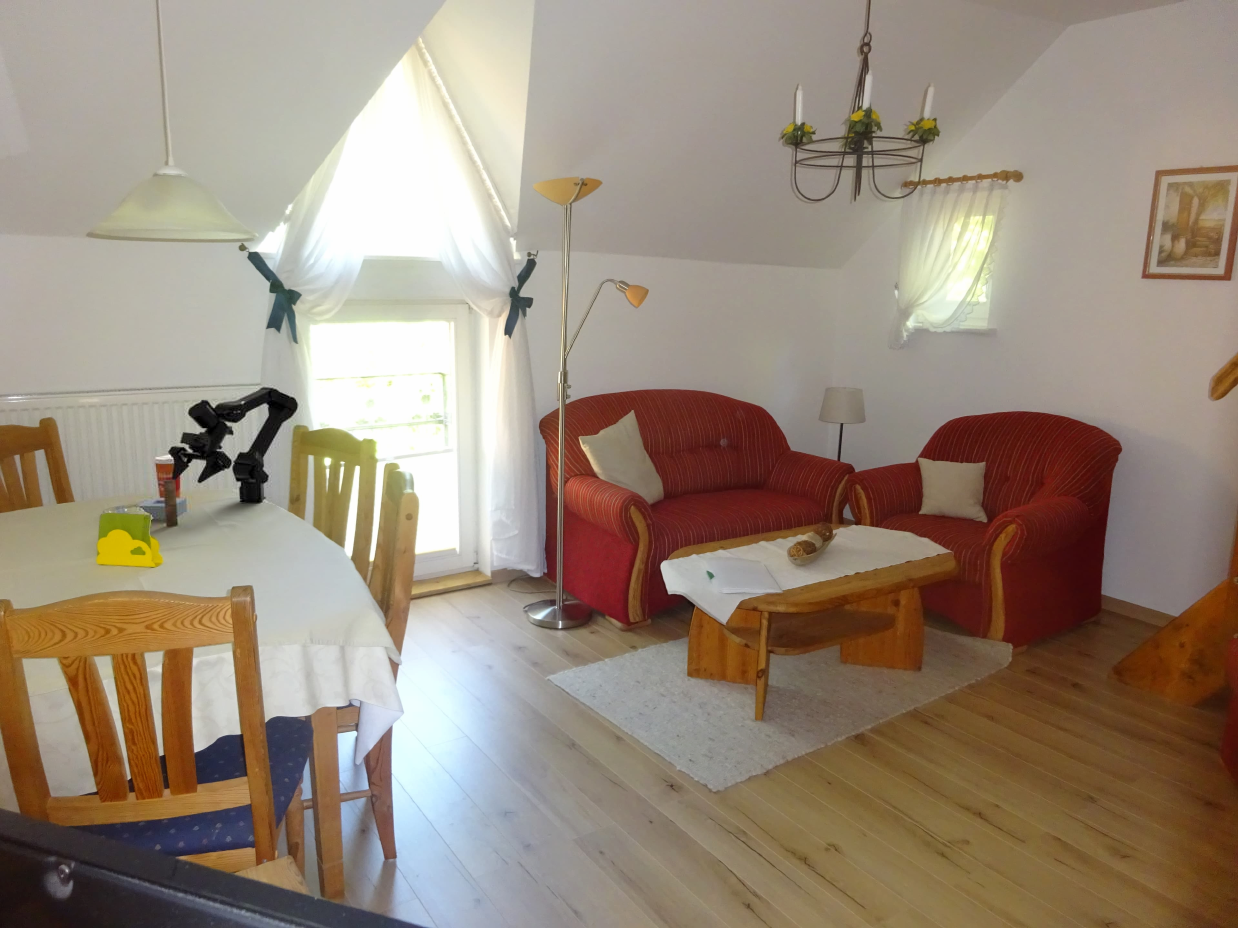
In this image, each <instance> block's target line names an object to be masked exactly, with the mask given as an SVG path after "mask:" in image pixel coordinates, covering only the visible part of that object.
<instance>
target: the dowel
mask: <svg viewBox="0 0 1238 928" xmlns="http://www.w3.org/2000/svg"><path fill="white" fill-rule="evenodd" d="M163 486H164V501H165V516H166V519H165V526H166V527H169V528H170V527H176V526H178V525H179V522H178V521H179V520H178V517H177V502H176V486H175V480H164V481H163Z"/></svg>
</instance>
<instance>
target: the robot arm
mask: <svg viewBox="0 0 1238 928" xmlns="http://www.w3.org/2000/svg"><path fill="white" fill-rule="evenodd" d="M262 405H266V406H267V411H268V412H267V413H268V416H267V418H266V420H265V421H264V423H263V425H262V427H261V428H260V430H259V431H258V433H257V435H256V437H255V438H254V440H253V442H252V444H251V445H250V447H249V448H248V450H247V451H246V452H245V451H244V452H243V451H239V452H238V453H237V456H236V458H235V459H234V460H232V458H230V456H229V455H228V454H227V453H225V452H224V451H223V450H222V449H223V446H222V445H221V444H223V441H224V439H226V436H234V430H233V426H231V425H228V424H227V423H231V424H237V423H239V422H241V420H243V419H244V418H245V417H246V415H247V414H248V413H249V412H251V411H253V410H255V409H257V408H259V407H260V406H262ZM298 407H299V403H298V401H297V399H296V398H295V397H294V396H290V395H288V394H286V393H285V392H282V391H279V389H277V388H275V387H269V386H263V387H260V388H259V389H258V390H256V391H254V392H251V393H250V394H247V395H245V396H243V397H241V398H239V399H236V400H230V401H229V400H228V401H223V402H219V403H217V404H216V405H215V406H214V407H213V406H212V404H211V402H210V401H208V399H201V400H200V401H199V402H197V403H195V404H194V405H192V406H191V407H189V409H188V412H187V413H188V414H187V415H188V416H189V417H190V418H191V419H192V420H193V421H194V422H195V424H196V425H198V427H200V428H201V429H204V431H200V432H199V433H194V432H185V431H184V432H182V434H181V437H180V442H179V443H180V444H184V445H186V446H188V449H189V450H190V451H189V450H188V449H186V448H185V447H184V446H178V445H173V446H171V447H170V449H168V451H167V453H168V454H169V455H171V457H172V458H173V459H174V468H173V473H172V479H173V480H176V479H177V478H178V477H179V476H180V477H181V475H182V474H183V473H184V472H186V470H187V469H188V468H189V467H190V465H189V464H191V463H192V462H193V461H194V460H196V461H204V462H205V466H204V467H203V469H202V471H201V472H200V475H199V476H198V479H197V483H198V484H202V483H204V482H205V481H207V480H209V479H210V478H211V477H213V476H215V475H217V474H219V473H220V472H224V471H225V470H230V468H232V469H231V470H232V473H233V475H234V480H235V482H237V483H240V485H239V487H238V493H239V503H249V504H250V503H256V504H257V503H262V502H263V501H264V500H266V499H267V497H266V496H265V484H266V483H268V481H269V476H270V475H269V474H268V473H267V472H266V471H265V470H264V468H265V461H264V458H265V455H266V454H267V452H268V450H269V449H270V447H271V445H272V443H273V441H274V439H275V438H276V436H277V435H278V433H279V430H280V429H281V427H282V426H283V424H284V423H285V422H286V421H288V420H289V419H291V418H293V416H294V415H295V413H296V412H297V410H298ZM232 464H233V465H232ZM231 466H232V467H231ZM261 501H262V502H261Z"/></svg>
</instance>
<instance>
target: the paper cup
mask: <svg viewBox="0 0 1238 928" xmlns="http://www.w3.org/2000/svg"><path fill="white" fill-rule="evenodd" d="M153 463H154V465H155V473H156V479H157V481H156V482H157V488H158V494H159V498H164V486H163V481H164V480H173V479H172V473H173V468H174V459H173V458H172V457H171V455H170V454H169V455H161V456H156V457H155V458H154V461H153ZM175 486H176V498H181V475H180V476H179V477H178V478H177V479H176V480H175Z"/></svg>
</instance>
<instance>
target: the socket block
mask: <svg viewBox="0 0 1238 928" xmlns="http://www.w3.org/2000/svg"><path fill="white" fill-rule="evenodd" d="M176 502H177V518H178V517H180V516H182V515H183V514H184V513H187V511H188V506H187V505H188V504H187V498H186V497H185V498H184V497H180V498H176ZM137 507H140V508H142V509H143V510H144V511H145V512H147V513H149V514H150V515H152V517H153V519H152V520H166V516H165V501H164V498H160V497H150V498H149V499H147V500H144V501H143V502H141V503H139V504H137V505H136V508H137Z"/></svg>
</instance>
